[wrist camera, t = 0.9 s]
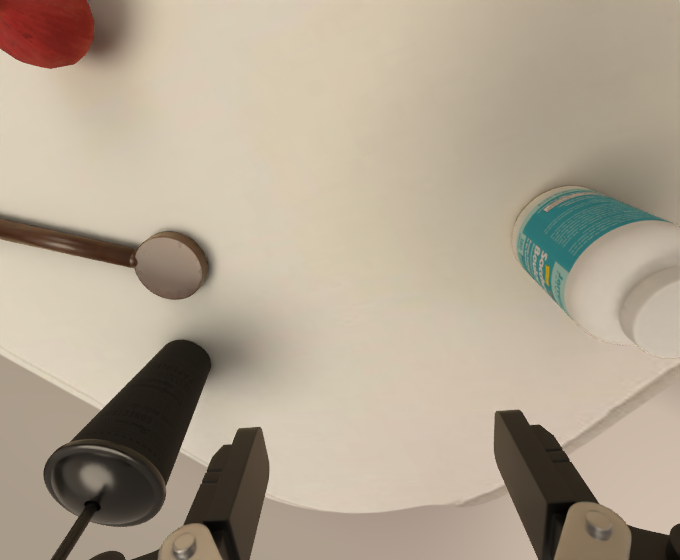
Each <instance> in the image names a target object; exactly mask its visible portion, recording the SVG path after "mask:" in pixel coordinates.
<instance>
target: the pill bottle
mask: <svg viewBox="0 0 680 560" xmlns="http://www.w3.org/2000/svg"><path fill="white" fill-rule="evenodd" d="M512 248H513V252H514V255H515V257H516V259H517V261H518V262H519V263H520V265H521V266H522V267H523V268H524V269H525V270H526V271H527V272H528V273H529V275H530V276H531V277H532V278H533V279H534V280H535V281H536V282H537V283H538V284H539V285H540V286H541V287H542V288H543V289H544V290H545V291H546V292H547V293H548V294H549V295H550V296H551V297H552V298H553V300H554V301H555V302H556V303H557V304H558V305H559V306H560V307H561V308H562V309H563V310H564V311H565V312H566V313H567V314H568V315H569V316H570V317H571V319H572V320H573V321H574V322H575V323H576V324H577V325H578V326H579V327H580V328H582V329H583V330H584V331H585V332H586V333H588V334H589V335H591V336H593V337H594V338H596V339H599V340H601V341H604V342H607V343H611V344H617V345H637V346H638V347H639V348H640V349H641V350H643V351H644V352H646V353H648V354H650V355H652V356H655V357H660V358H679V357H680V226H678V225H676V224H673V223H671V222H669V221H666V220H664V219H661V218H659V217H656V216H654V215H651V214H649V213H647V212H644V211H642V210H639V209H637V208H634V207H632V206H630V205H627V204H625V203H622V202H620V201H618V200H615V199H613V198H611V197H608V196H606V195H603V194H601V193H599V192H596V191H594V190H591V189H588V188H585V187H580V186H564V187H559V188H555V189H552V190H549V191H547V192H545V193H543V194H541V195H539V196H538V197H536V198H535V199H534V200H533V201H531V202H530V203H529V204H528V205H527V206H526V207H525V208H524V210H523V211H522V212H521V214H520V215H519V217H518V218H517V220H516V223H515V225H514V228H513V233H512Z"/></svg>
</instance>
